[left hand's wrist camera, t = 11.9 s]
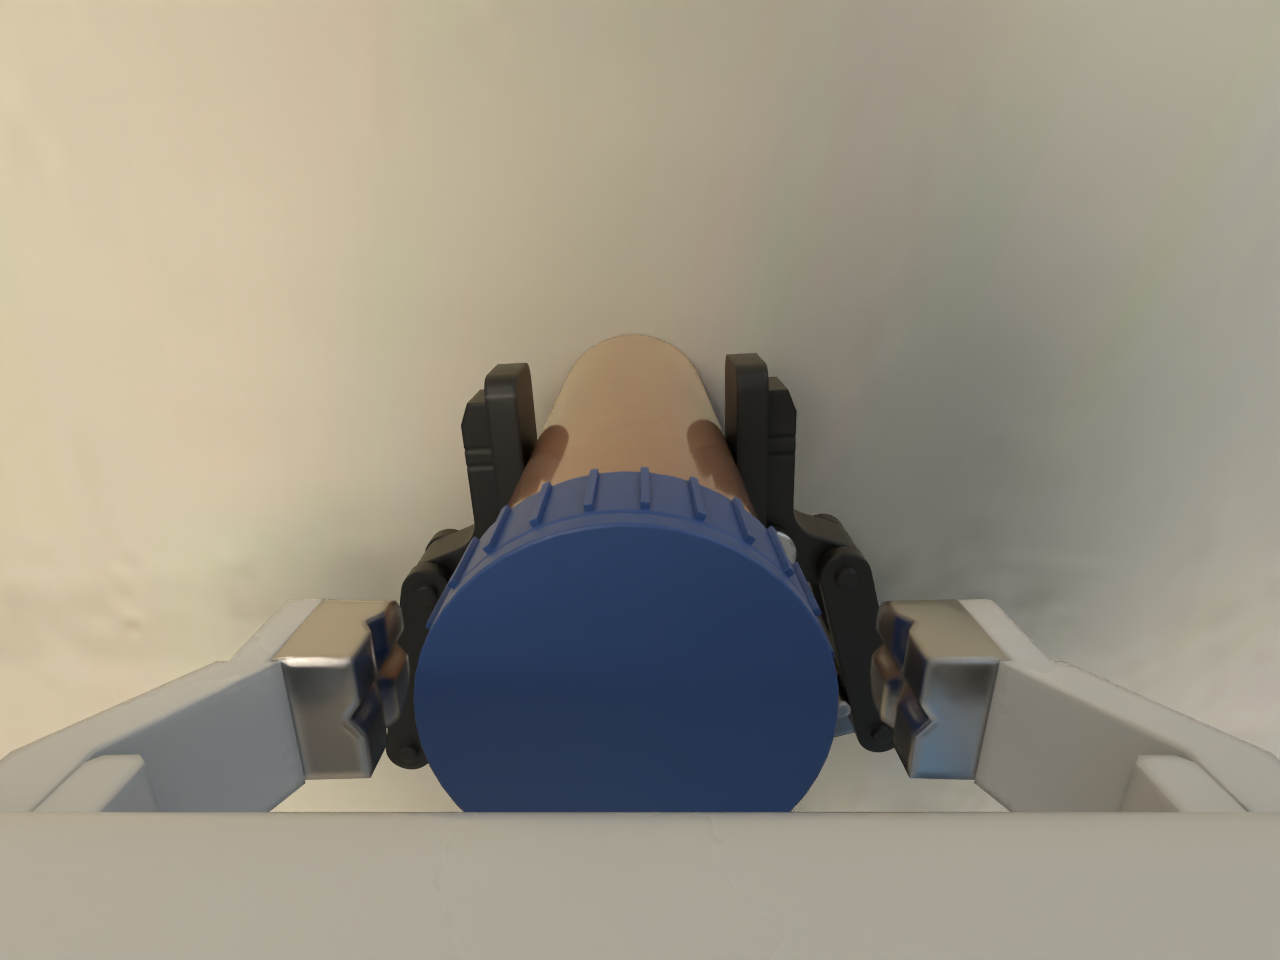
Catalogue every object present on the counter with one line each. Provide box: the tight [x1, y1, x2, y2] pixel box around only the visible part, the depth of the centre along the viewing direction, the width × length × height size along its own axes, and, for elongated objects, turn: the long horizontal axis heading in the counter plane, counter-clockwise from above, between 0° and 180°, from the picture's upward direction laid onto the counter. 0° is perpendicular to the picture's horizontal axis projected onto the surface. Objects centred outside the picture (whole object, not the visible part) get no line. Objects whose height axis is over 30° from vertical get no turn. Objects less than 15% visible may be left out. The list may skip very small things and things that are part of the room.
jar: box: [508, 335, 758, 519], centre depth 16 cm, size 5×5×15 cm
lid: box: [413, 467, 839, 812], centre depth 9 cm, size 5×5×2 cm
